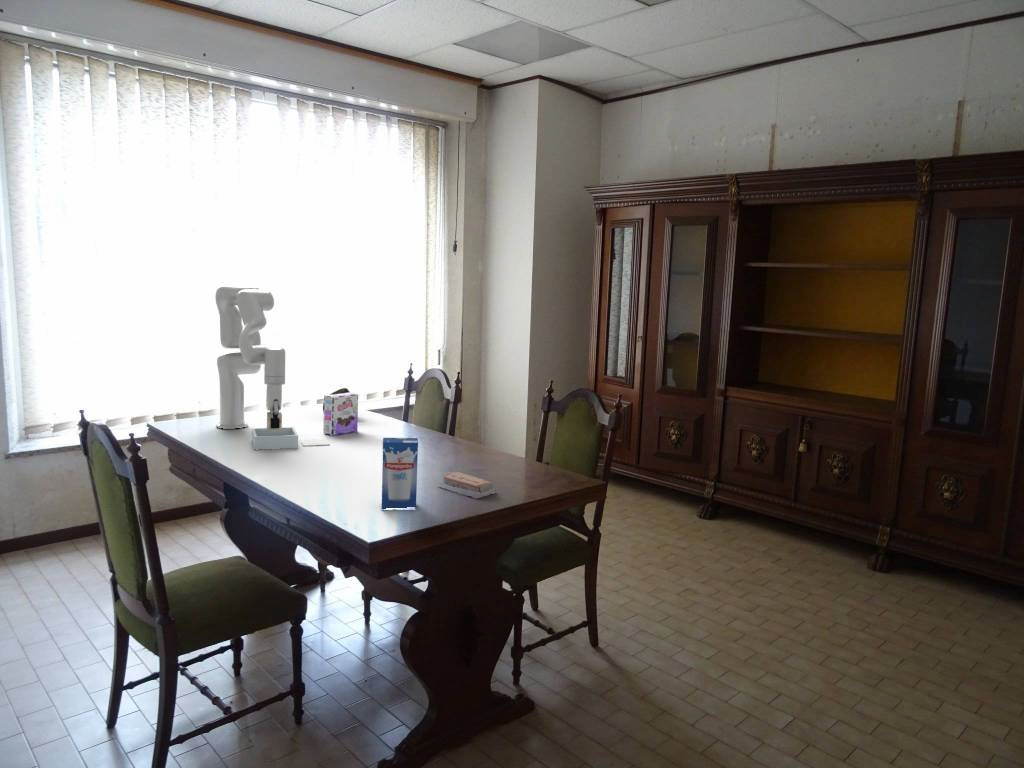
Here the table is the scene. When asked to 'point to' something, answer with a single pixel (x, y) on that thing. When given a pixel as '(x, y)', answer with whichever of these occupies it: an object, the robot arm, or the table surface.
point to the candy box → (340, 413)
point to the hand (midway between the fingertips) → (274, 426)
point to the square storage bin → (274, 438)
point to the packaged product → (467, 482)
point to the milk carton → (399, 472)
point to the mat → (314, 442)
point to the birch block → (270, 421)
